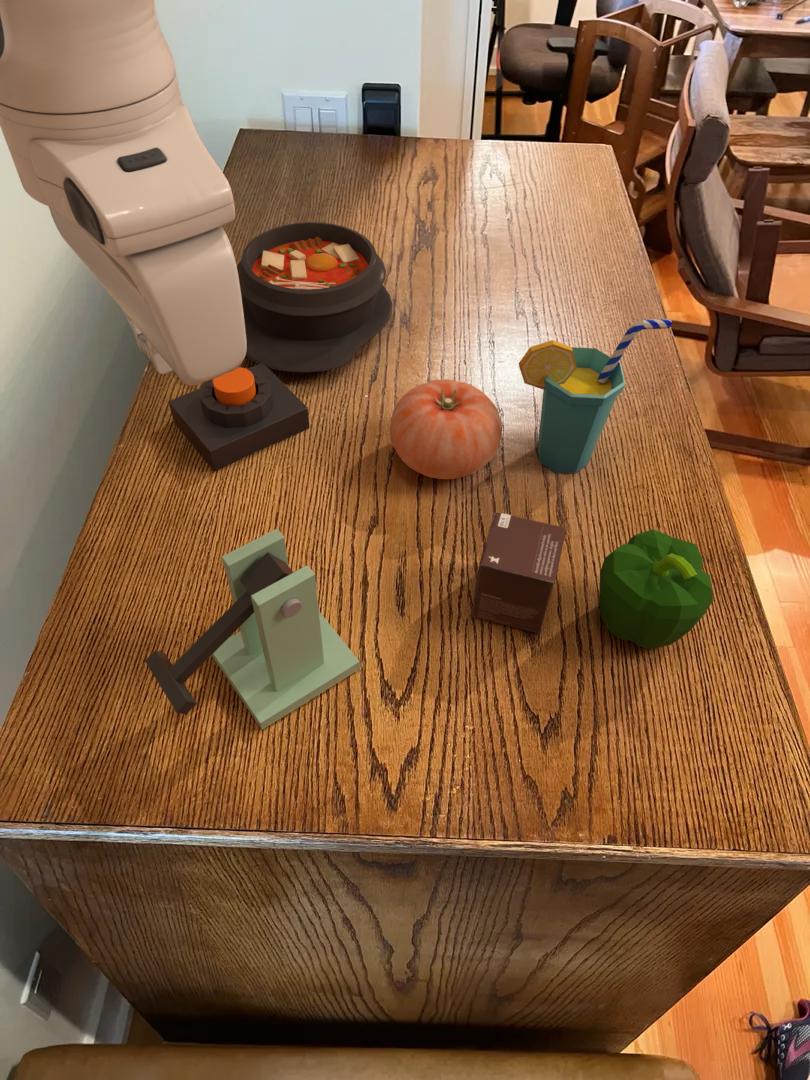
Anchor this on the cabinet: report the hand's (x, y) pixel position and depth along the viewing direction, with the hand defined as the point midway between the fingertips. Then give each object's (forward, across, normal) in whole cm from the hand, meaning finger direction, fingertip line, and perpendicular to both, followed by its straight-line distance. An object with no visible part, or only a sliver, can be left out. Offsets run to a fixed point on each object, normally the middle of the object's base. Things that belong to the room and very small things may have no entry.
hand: (162, 359), depth 50 cm
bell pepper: (+23, +25, +26) cm, 43 cm away
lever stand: (+23, +11, 0) cm, 25 cm away
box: (+23, +17, +19) cm, 34 cm away
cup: (+23, +7, +36) cm, 43 cm away
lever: (+15, +11, -3) cm, 19 cm away
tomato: (+23, 0, +25) cm, 34 cm away
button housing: (+23, -16, +10) cm, 30 cm away
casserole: (+23, -27, +26) cm, 44 cm away
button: (+19, -16, +11) cm, 27 cm away
